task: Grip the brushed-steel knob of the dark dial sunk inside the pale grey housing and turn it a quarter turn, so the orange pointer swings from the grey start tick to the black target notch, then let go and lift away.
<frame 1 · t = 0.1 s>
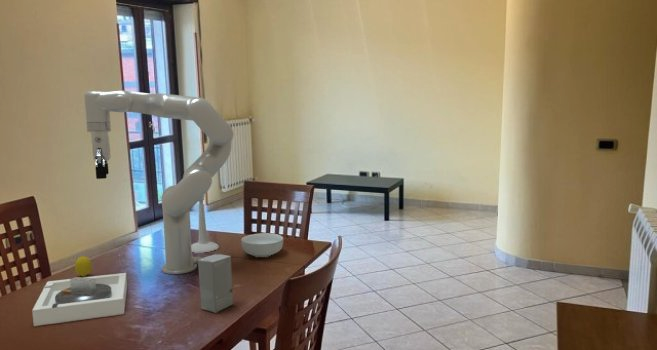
hand: (102, 176, 182), 37 cm above the table, tool pointing down, fingers open, 9 cm apart
lemon: (84, 277, 188), on the table
candlestick: (203, 249, 220), on the table
dial housing: (84, 304, 163), on the table
skincare box: (217, 307, 161), on the table
dial: (83, 288, 163), point 5 cm above the table, hinge at 0.0°
cereal bowl: (262, 255, 212), on the table
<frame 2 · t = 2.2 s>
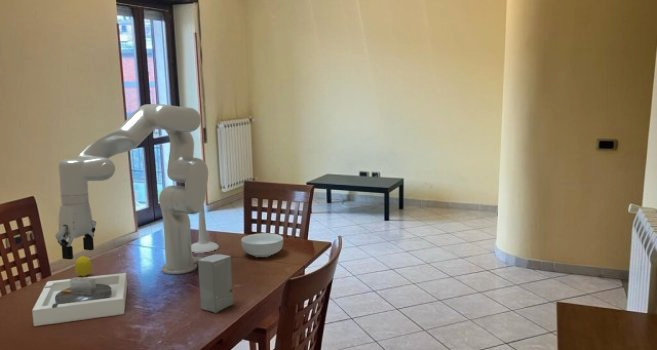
hand: (78, 254, 160), 16 cm above the table, tool pointing down, fingers open, 9 cm apart
nothing on the table moved.
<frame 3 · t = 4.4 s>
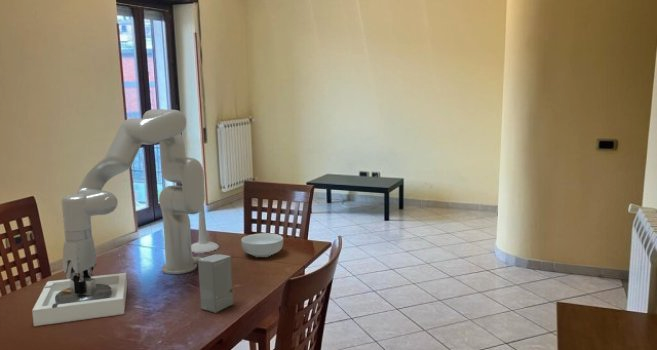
hand: (83, 291, 163), 4 cm above the table, tool pointing down, fingers closed on dial, 2 cm apart
dial: (83, 288, 163), point 5 cm above the table, hinge at 0.0°, touching gripper
everything else where it was.
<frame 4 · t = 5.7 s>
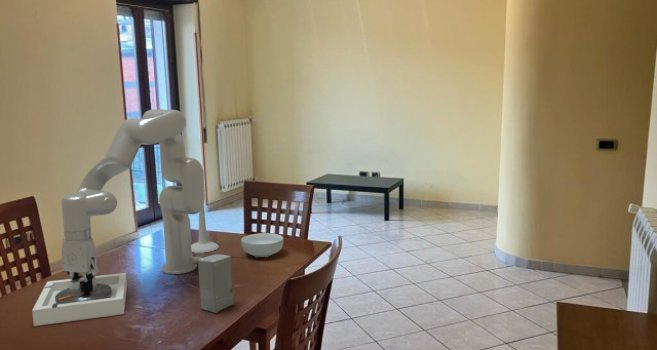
hand: (82, 291, 163), 4 cm above the table, tool pointing down, fingers closed on dial, 3 cm apart
dial: (83, 288, 163), point 5 cm above the table, hinge at 59.4°, touching gripper
everything else where it was.
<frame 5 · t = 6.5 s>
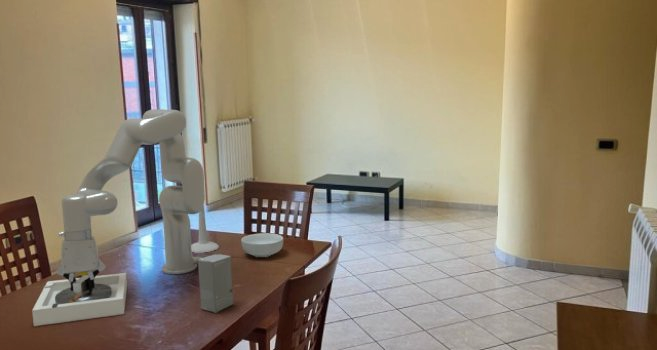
hand: (83, 291, 163), 4 cm above the table, tool pointing down, fingers closed on dial, 3 cm apart
dial: (83, 288, 163), point 5 cm above the table, hinge at 99.3°, touching gripper
everything else where it was.
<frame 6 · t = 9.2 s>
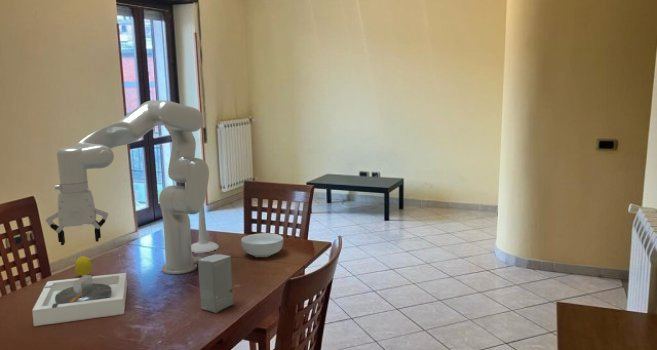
hand: (80, 242, 161), 20 cm above the table, tool pointing down, fingers open, 9 cm apart
dial: (83, 288, 163), point 5 cm above the table, hinge at 100.1°
everything else where it was.
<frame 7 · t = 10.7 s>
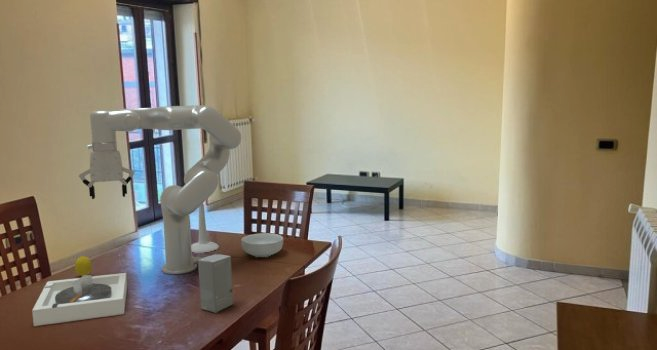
hand: (108, 197, 178), 30 cm above the table, tool pointing down, fingers open, 9 cm apart
nothing on the table moved.
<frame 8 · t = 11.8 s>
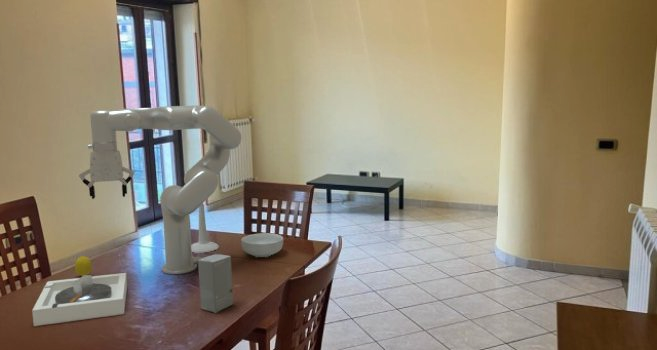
hand: (108, 197, 178), 30 cm above the table, tool pointing down, fingers open, 9 cm apart
nothing on the table moved.
at the end: dial at +100° (first picture: +0°) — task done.
